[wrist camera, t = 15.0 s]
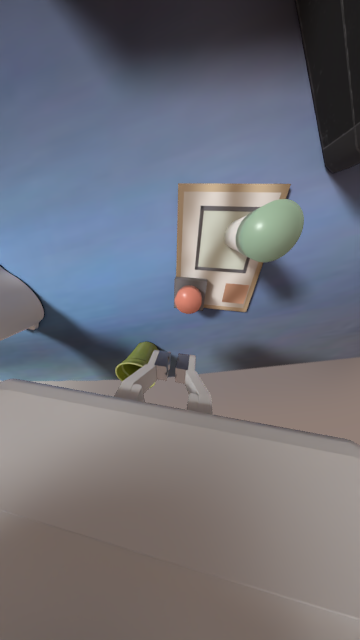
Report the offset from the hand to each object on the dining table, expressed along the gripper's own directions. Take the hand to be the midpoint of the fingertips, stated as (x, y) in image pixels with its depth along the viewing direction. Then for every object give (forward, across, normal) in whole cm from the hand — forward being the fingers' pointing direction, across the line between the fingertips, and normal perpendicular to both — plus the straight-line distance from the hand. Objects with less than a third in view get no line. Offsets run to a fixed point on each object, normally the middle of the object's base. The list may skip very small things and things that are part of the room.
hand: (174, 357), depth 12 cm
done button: (+14, 0, 0) cm, 14 cm away
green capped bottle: (+16, -6, -10) cm, 20 cm away
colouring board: (+17, -4, -6) cm, 19 cm away
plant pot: (+17, +10, +18) cm, 27 cm away
